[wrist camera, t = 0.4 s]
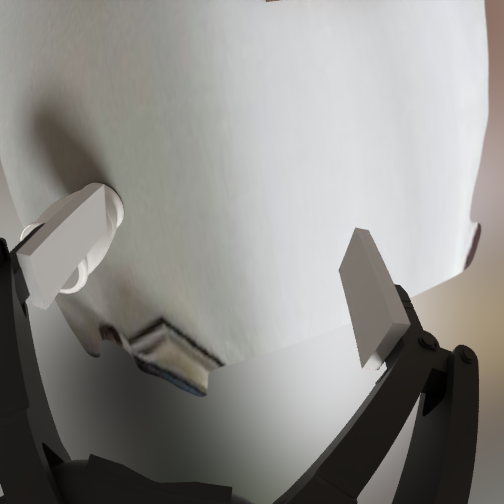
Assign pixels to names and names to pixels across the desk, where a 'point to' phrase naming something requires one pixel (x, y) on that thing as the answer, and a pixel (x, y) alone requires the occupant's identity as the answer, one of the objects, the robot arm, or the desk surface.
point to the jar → (100, 247)
